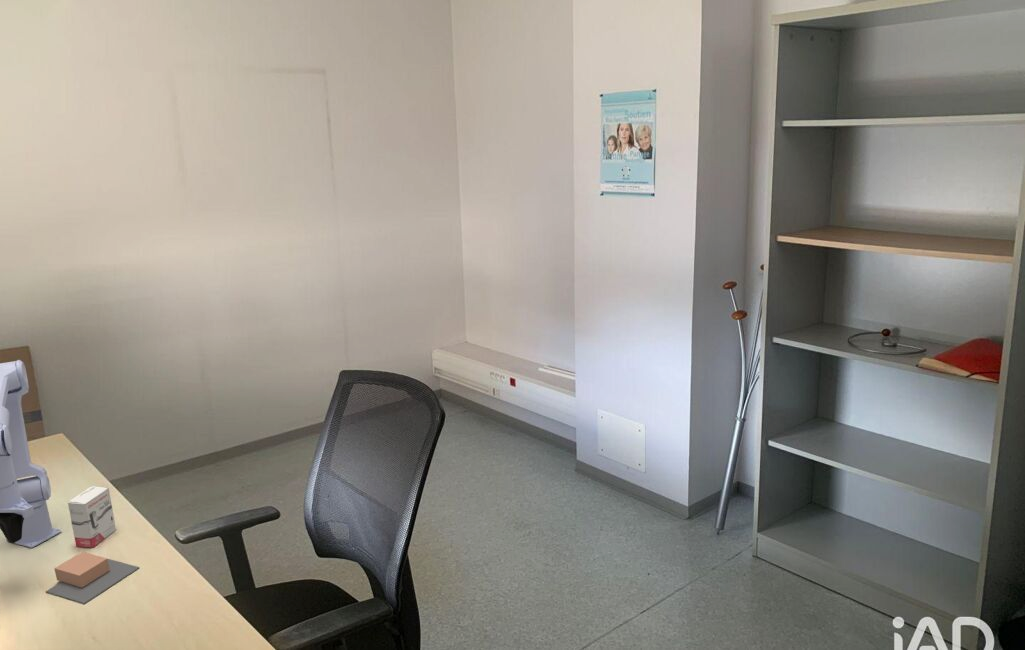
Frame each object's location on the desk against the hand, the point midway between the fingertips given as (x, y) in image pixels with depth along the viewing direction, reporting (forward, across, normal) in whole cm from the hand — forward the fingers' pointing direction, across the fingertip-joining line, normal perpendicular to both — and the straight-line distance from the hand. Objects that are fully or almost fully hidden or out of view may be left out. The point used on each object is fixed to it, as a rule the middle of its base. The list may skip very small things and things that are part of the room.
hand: (15, 540), depth 170 cm
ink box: (+11, -1, +19) cm, 22 cm away
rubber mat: (+10, +14, +6) cm, 18 cm away
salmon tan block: (+8, +7, +6) cm, 12 cm away
